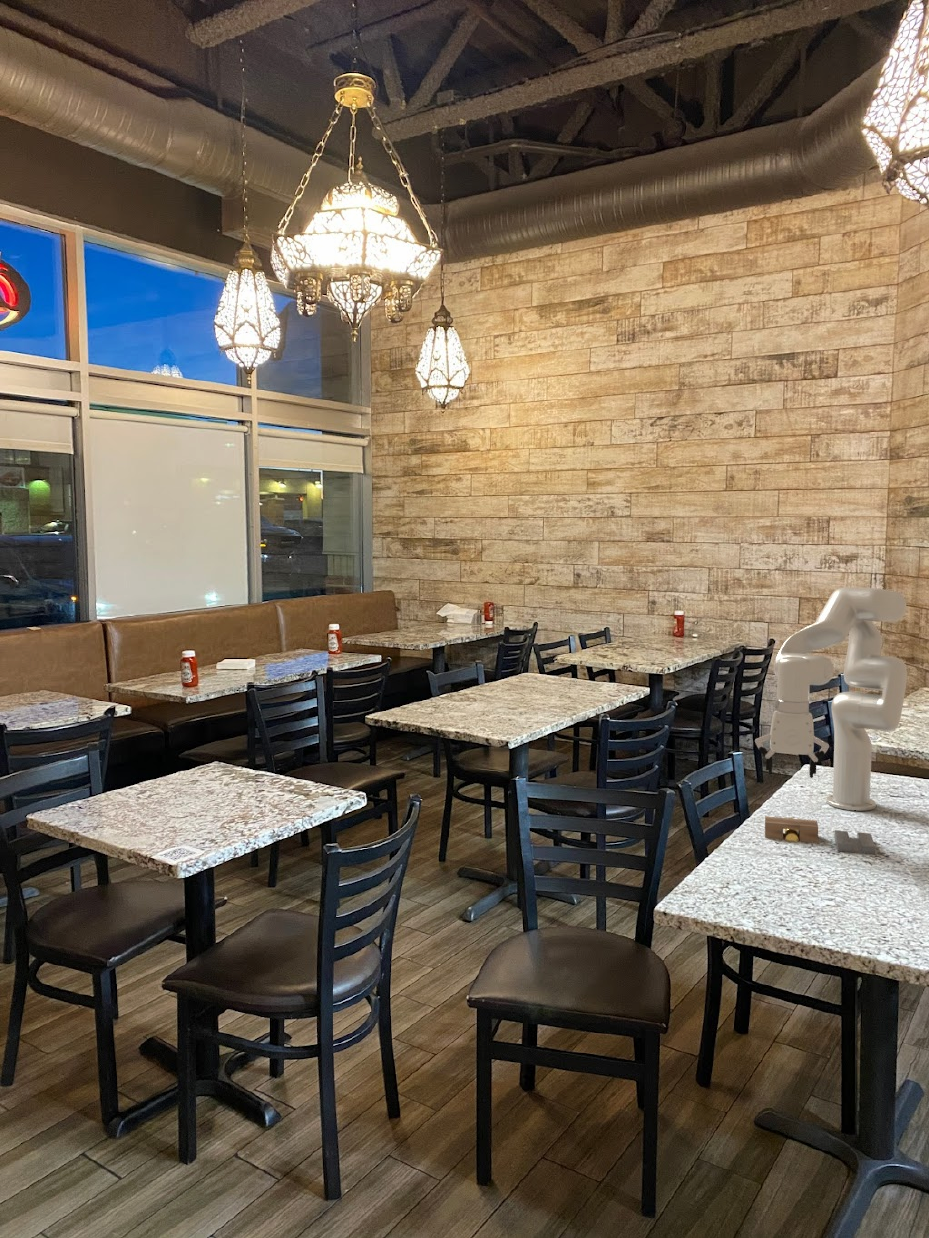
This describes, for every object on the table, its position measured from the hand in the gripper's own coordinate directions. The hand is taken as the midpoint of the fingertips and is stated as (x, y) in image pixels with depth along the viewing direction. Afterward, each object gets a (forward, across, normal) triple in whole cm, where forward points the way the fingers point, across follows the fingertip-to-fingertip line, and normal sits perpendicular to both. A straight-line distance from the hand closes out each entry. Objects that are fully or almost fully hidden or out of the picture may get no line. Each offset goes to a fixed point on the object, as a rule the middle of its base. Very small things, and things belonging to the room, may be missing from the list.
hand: (790, 774), depth 219 cm
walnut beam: (+15, 0, -6) cm, 16 cm away
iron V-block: (+15, +14, -8) cm, 22 cm away
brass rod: (+14, 0, -2) cm, 14 cm away
